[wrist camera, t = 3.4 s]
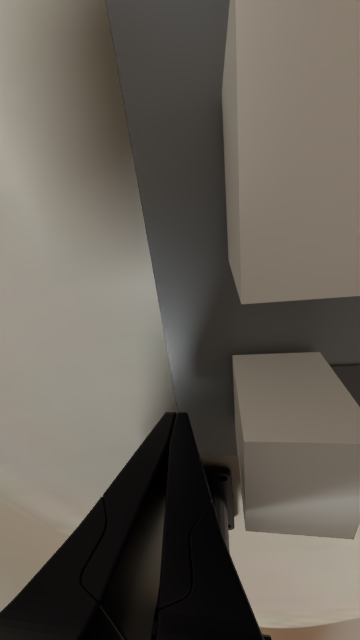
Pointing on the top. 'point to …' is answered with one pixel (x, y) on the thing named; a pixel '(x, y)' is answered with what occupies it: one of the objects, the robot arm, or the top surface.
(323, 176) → the tab middle
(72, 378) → the top surface
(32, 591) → the robot arm
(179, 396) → the switch bank
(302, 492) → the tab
